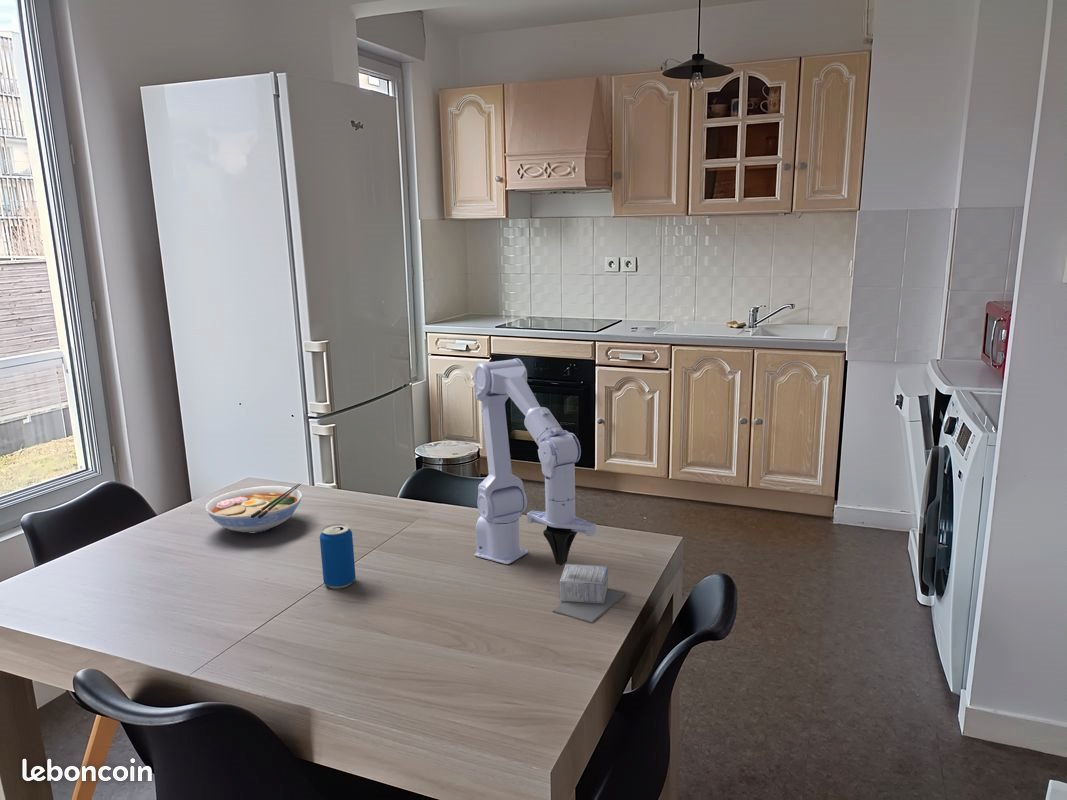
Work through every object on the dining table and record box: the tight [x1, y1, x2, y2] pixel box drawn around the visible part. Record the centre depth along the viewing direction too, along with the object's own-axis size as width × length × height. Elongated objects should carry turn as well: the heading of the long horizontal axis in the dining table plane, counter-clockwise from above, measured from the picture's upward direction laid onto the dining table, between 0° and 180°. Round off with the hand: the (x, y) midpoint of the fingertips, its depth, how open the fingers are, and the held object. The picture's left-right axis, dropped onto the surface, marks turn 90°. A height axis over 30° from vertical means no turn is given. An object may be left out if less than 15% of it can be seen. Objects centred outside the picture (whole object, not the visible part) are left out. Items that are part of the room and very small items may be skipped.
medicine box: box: [559, 563, 609, 604], centre depth 150 cm, size 8×4×9 cm
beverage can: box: [319, 523, 357, 590], centre depth 158 cm, size 6×6×12 cm
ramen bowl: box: [204, 483, 303, 533], centre depth 190 cm, size 25×23×8 cm
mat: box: [552, 588, 625, 624], centre depth 148 cm, size 8×13×1 cm, turn 146°
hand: (561, 562), depth 150 cm, fingers closed
